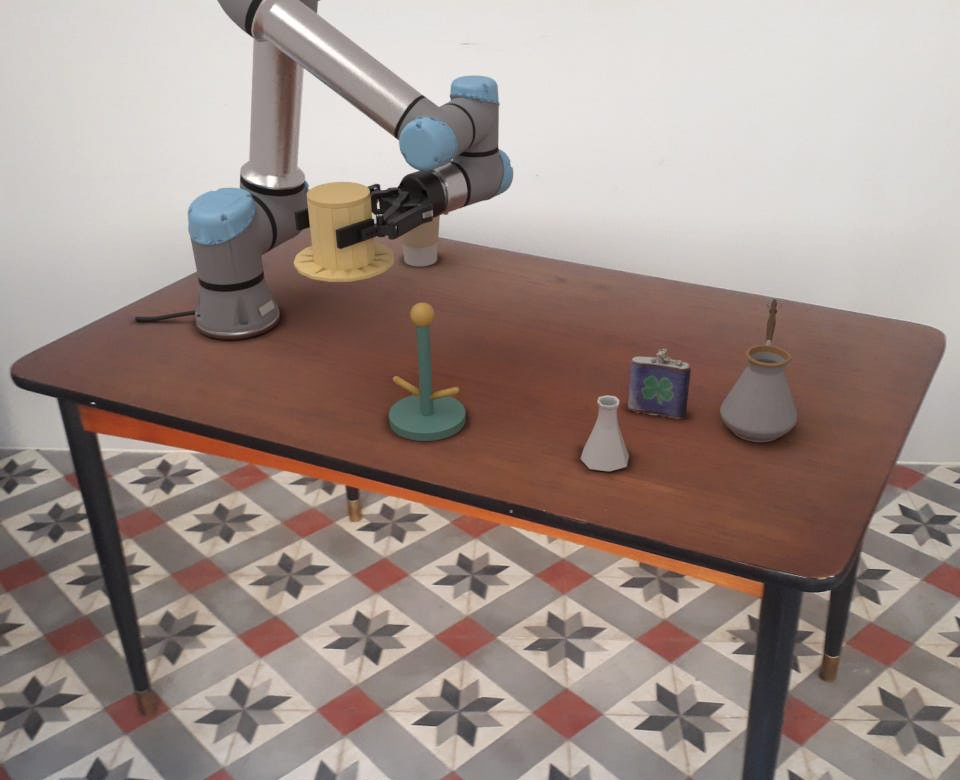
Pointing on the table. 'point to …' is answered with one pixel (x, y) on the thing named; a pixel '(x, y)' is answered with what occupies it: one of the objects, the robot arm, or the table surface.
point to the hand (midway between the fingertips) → (317, 230)
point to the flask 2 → (659, 386)
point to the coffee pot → (761, 393)
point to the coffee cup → (421, 244)
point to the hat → (327, 214)
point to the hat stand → (426, 393)
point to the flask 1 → (606, 439)
